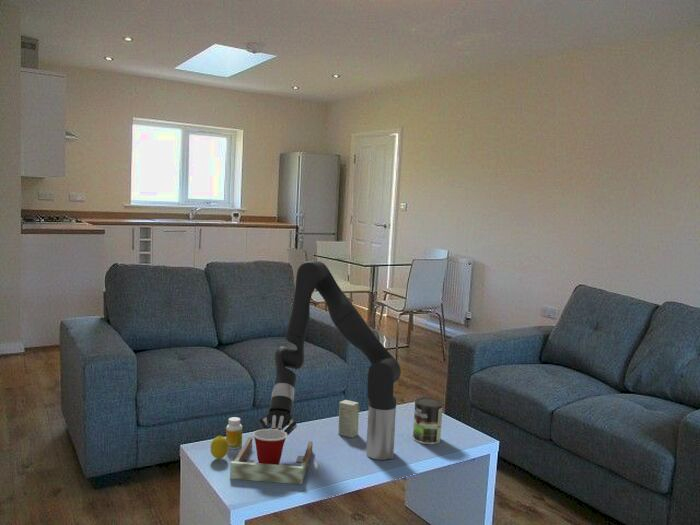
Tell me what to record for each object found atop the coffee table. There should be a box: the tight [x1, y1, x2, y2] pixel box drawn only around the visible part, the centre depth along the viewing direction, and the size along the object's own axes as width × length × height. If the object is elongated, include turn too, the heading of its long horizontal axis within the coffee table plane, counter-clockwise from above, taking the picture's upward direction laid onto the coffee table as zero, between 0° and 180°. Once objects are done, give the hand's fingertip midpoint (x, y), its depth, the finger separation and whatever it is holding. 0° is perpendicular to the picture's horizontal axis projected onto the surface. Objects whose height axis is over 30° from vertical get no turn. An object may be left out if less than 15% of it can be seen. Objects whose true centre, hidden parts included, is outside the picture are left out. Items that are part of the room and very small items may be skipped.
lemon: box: [210, 435, 229, 461], centre depth 196 cm, size 6×6×8 cm
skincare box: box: [338, 399, 360, 439], centre depth 222 cm, size 6×4×12 cm
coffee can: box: [412, 396, 444, 445], centre depth 221 cm, size 10×10×14 cm
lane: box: [229, 436, 314, 485], centre depth 194 cm, size 22×24×5 cm
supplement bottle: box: [225, 416, 243, 450], centre depth 206 cm, size 5×5×10 cm
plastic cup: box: [252, 428, 288, 465], centre depth 190 cm, size 11×11×12 cm
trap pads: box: [243, 455, 304, 464], centre depth 196 cm, size 22×6×1 cm, turn 106°
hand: (273, 448), depth 195 cm, fingers closed
